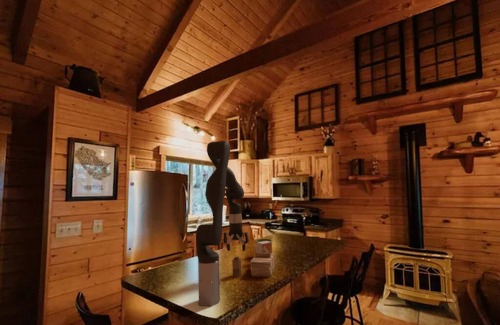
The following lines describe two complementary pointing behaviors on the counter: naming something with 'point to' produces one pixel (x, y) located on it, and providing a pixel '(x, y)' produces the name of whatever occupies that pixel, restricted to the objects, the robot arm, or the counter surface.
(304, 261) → the counter surface
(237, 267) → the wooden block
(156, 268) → the counter surface
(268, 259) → the lid
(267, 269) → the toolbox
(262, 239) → the plant pot
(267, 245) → the small box
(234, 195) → the robot arm
